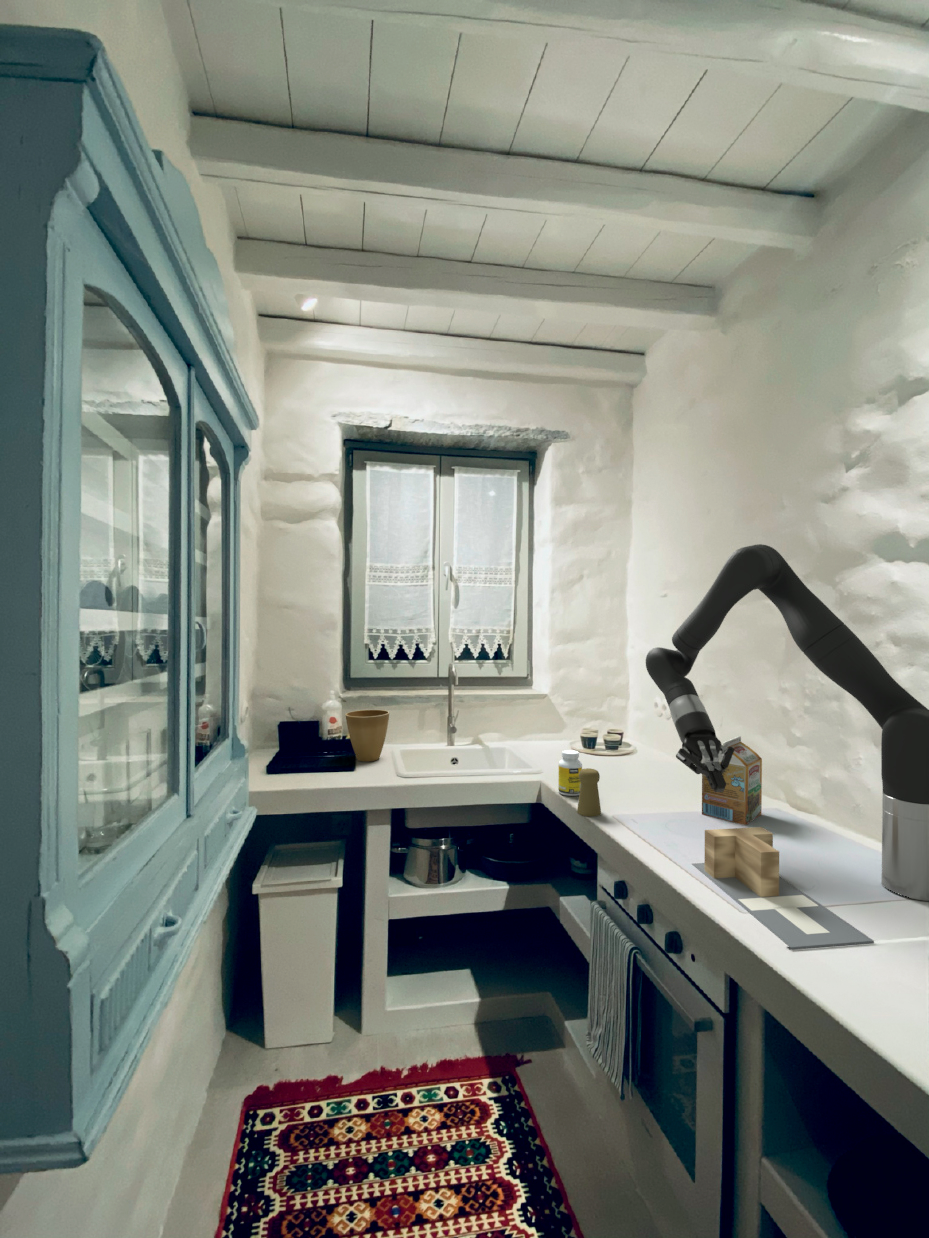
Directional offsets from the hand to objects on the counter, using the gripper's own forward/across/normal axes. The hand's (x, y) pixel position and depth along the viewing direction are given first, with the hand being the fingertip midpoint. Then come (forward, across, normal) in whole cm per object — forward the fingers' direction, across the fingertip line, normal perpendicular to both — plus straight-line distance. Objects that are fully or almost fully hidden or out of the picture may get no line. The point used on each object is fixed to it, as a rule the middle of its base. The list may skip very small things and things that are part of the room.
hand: (720, 790), depth 123 cm
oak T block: (+18, 0, +2) cm, 18 cm away
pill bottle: (-23, -17, +44) cm, 52 cm away
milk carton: (-8, +18, +28) cm, 34 cm away
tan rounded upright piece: (-12, -17, +32) cm, 39 cm away
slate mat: (+22, 0, -2) cm, 22 cm away
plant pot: (-55, -75, +76) cm, 120 cm away
